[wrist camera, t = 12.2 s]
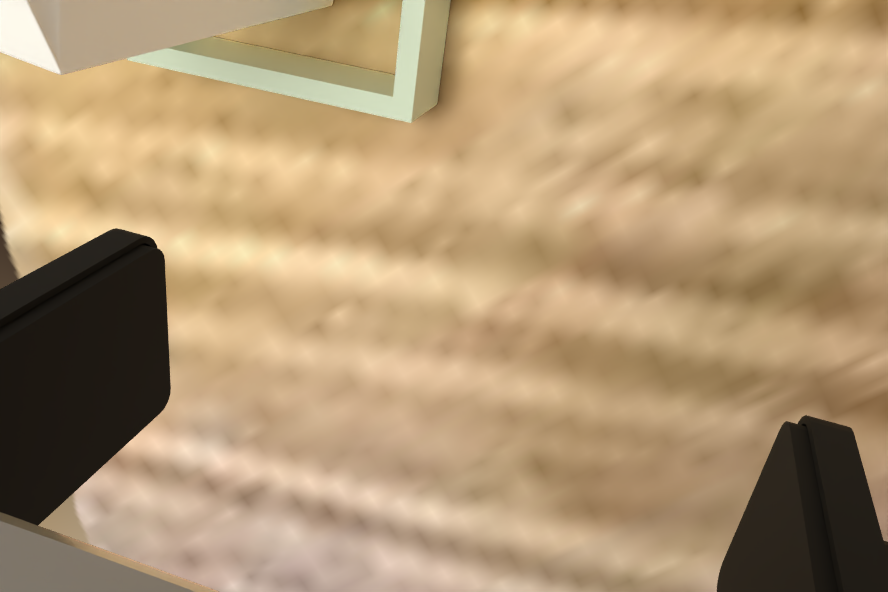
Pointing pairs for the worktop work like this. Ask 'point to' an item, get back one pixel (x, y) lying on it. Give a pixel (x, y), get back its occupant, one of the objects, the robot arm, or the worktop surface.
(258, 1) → the milk
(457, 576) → the worktop surface
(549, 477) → the worktop surface
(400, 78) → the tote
